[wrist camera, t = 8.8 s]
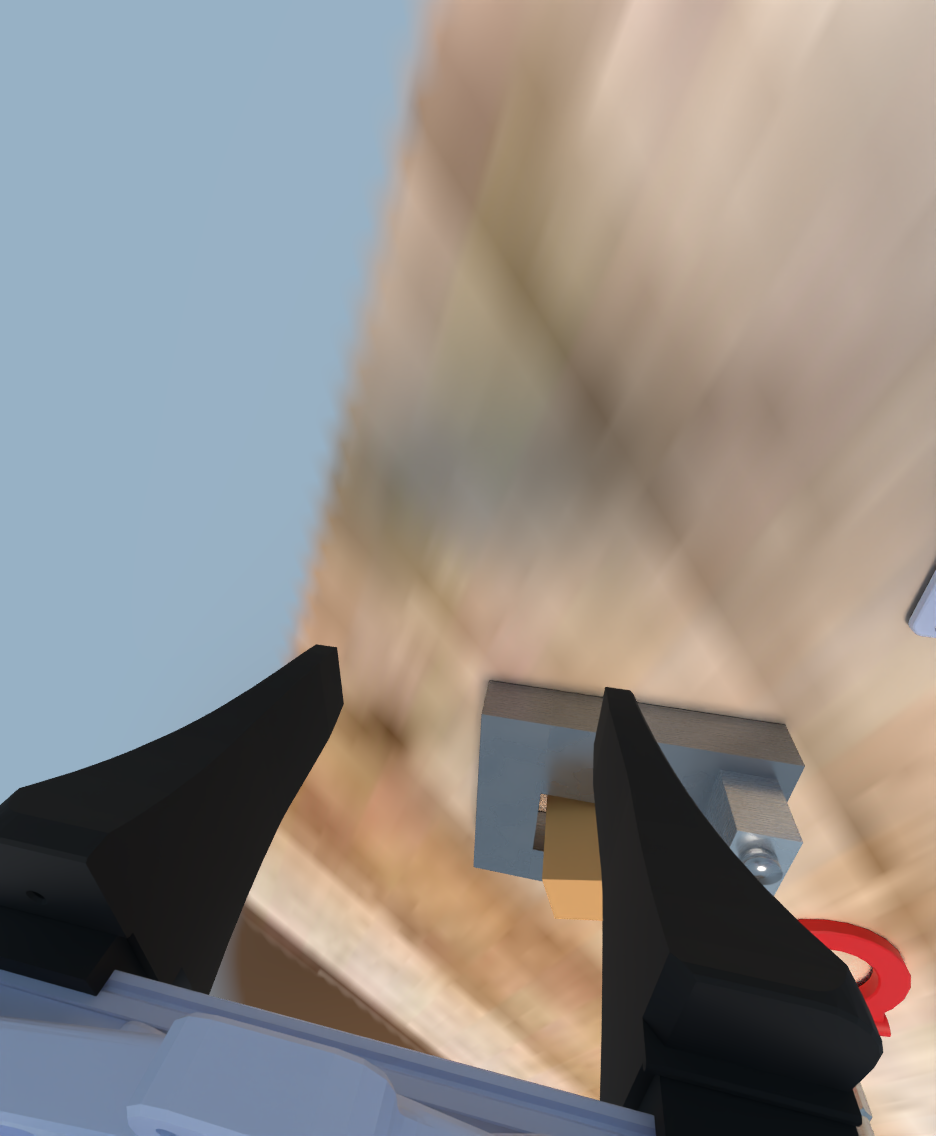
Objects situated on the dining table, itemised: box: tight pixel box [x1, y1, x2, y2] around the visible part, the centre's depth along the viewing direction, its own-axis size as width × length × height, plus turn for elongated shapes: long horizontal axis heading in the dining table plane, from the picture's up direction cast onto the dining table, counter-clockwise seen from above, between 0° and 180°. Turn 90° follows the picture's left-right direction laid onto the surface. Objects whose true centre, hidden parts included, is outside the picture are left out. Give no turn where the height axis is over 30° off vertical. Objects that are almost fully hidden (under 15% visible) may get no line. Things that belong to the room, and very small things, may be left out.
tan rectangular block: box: [542, 795, 603, 921], centre depth 26 cm, size 3×3×6 cm
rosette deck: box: [474, 681, 805, 896], centre depth 25 cm, size 14×12×6 cm
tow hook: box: [798, 919, 911, 1136], centre depth 26 cm, size 9×14×10 cm
